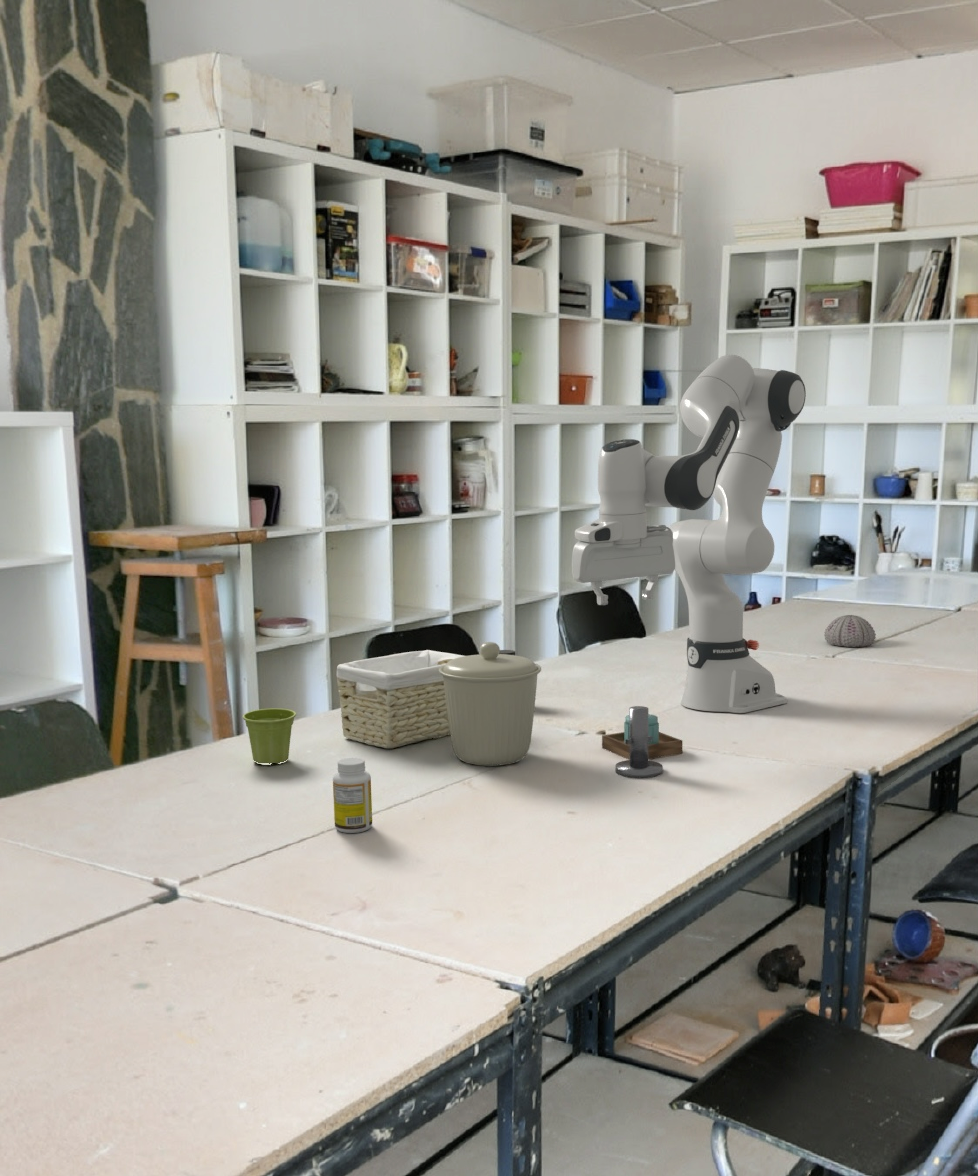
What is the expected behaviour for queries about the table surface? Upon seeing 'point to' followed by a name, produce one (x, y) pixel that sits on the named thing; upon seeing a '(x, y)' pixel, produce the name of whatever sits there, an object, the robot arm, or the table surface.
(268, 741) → the plant pot
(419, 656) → the storage basket
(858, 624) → the sea urchin shell
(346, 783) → the supplement bottle
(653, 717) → the cap
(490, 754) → the canister
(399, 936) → the table surface
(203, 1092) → the table surface
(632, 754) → the post
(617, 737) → the walnut tray
